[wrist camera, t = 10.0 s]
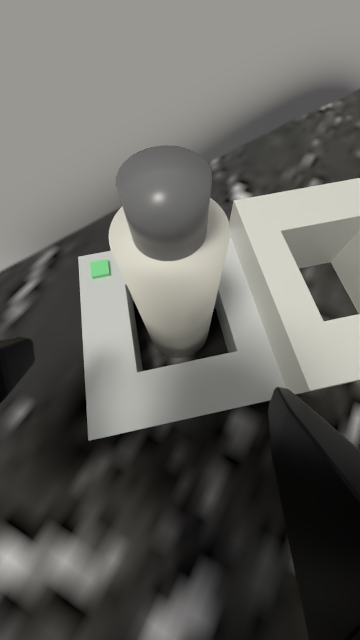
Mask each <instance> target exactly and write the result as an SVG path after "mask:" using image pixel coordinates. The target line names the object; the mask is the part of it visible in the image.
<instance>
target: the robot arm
mask: <svg viewBox="0 0 360 640" xmlns="http://www.w3.org/2000/svg"><path fill="white" fill-rule="evenodd" d="M34 361H35V352H34V344H33V341H32V340H31V339H30V338H25V337H16V338H11V339H6V340H1V341H0V403H1V402H2V401H3V400H4V399H5V398H6V397H7V396H8V394H9V393H10V392H11V391H12V390H13V388H14V387H15V386H16V385H17V383H18V382H19V381H20V380H21V379H22V377H23V376H24V375H25V374H26V372H27V371H28V370H29V369H30V367H31V366H32V365H33V363H34ZM268 416H269V428H270V440H271V451H272V459H273V464H274V469H275V474H276V479H277V484H278V489H279V494H280V499H281V504H282V509H283V514H284V519H285V524H286V529H287V534H288V539H289V544H290V549H291V554H292V559H293V564H294V569H295V574H296V579H297V584H298V589H299V594H300V599H301V604H302V609H303V614H304V619H305V624H306V629H307V634H308V639H309V640H360V450H359V449H358V448H356V447H355V446H354V445H353V444H352V443H351V442H349V441H348V440H347V439H346V438H345V437H344V436H342V435H341V434H340V433H339V432H338V431H337V430H336V429H334V428H333V427H332V426H331V425H330V424H329V423H327V422H326V421H325V420H324V419H323V418H322V417H321V416H319V415H318V414H317V413H316V412H315V411H314V410H312V409H311V408H310V407H309V406H308V405H307V404H306V403H304V402H303V401H302V400H301V399H300V398H299V397H297V396H296V395H295V394H294V393H293V392H292V391H290V390H289V389H287V388H282V387H276V388H275V389H274V392H273V395H272V398H271V401H270V404H269V408H268Z"/></svg>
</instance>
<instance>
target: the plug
mask: <svg viewBox="0 0 360 640" xmlns="http://www.w3.org/2000/svg"><path fill="white" fill-rule="evenodd" d="M211 182H212V172H211V169H210V167H209V165H208V163H207V162H206V160H204V158H203V157H201V156H200V155H199V154H197V153H195V152H194V151H191V150H189V149H186V148H183V147H178V146H156V147H151V148H147V149H144V150H142V151H139V152H137V153H136V154H134V155H132V156H131V157H129V158H128V159H127V160H126V161H125V162H124V163H123V164H122V166H121V167H120V169H119V171H118V173H117V176H116V186H117V190H118V193H119V197H120V199H121V203H122V207H121V208H120V209H119V211H118V212H117V213H116V215H115V216H114V218H113V220H112V223H111V226H110V229H109V244H110V248H111V251H112V253H113V256H114V258H115V260H116V262H117V264H118V267H119V269H120V271H121V273H122V275H123V278H124V280H125V282H126V284H127V287H128V289H129V291H130V293H131V295H132V298H133V300H134V302H135V304H136V306H137V309H138V311H139V313H140V315H141V318H142V320H143V322H144V324H145V326H146V329H147V331H148V333H149V335H150V337H151V340H152V342H153V344H154V345H155V347H156V348H157V349H158V350H159V351H160V352H161V353H163V354H164V355H166V356H169V357H172V358H186V357H189V356H192V355H194V354H195V353H197V352H198V351H199V350H200V349H201V348H202V347H203V345H204V344H205V342H206V340H207V336H208V332H209V328H210V323H211V319H212V314H213V310H214V306H215V301H216V297H217V292H218V288H219V284H220V279H221V275H222V270H223V266H224V262H225V257H226V253H227V248H228V244H229V239H230V226H229V222H228V219H227V216H226V214H225V213H224V211H223V210H222V208H221V207H220V206H219V205H218V204H217V203H216V202H215V201H214V200H212V199H211V198H210V193H211Z"/></svg>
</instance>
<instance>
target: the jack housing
mask: <svg viewBox="0 0 360 640" xmlns="http://www.w3.org/2000/svg"><path fill="white" fill-rule="evenodd" d="M229 226H230V239H229V244H228V248H227V253H226V257H225V262H224V266H223V270H222V275H221V279H220V284H219V288H218V292H217V297H216V301H215V309H216V312H217V316H218V319H219V323H220V326H221V329H222V333H223V336H224V340H225V343H226V347H227V350H228V353H226V354H222V355H217V356H212V357H208V358H203V359H198V360H193V361H189V362H184V363H179V364H175V365H170V366H165V367H160V368H156V369H151V370H146V371H143V368H142V361H141V354H140V347H139V340H138V334H137V327H136V320H135V313H134V306H133V301H134V300H133V298H132V295H131V293H130V291H129V289H128V287H127V284H126V282H125V280H124V278H123V275H122V273H121V271H120V269H119V267H118V264H117V262H116V260H115V258H114V256H113V253H112V251H107V252H102V253H97V254H91V255H86V256H80V257H78V260H79V278H80V297H81V315H82V334H83V352H84V371H85V389H86V408H87V426H88V441H89V440H94V439H99V438H104V437H109V436H113V435H118V434H122V433H127V432H131V431H136V430H140V429H145V428H149V427H154V426H158V425H162V424H167V423H171V422H176V421H180V420H185V419H189V418H194V417H198V416H203V415H207V414H212V413H216V412H220V411H225V410H229V409H234V408H238V407H243V406H247V405H252V404H256V403H261V402H265V401H270V400H271V398H272V395H273V392H274V389H275V388H276V387H282V388H287V389H289V390H290V391H292V392H293V393H294V394H295V395H296V394H301V393H305V392H310V391H314V390H319V389H323V388H328V387H332V386H337V385H341V384H345V383H350V382H354V381H359V380H360V178H357V179H352V180H346V181H341V182H335V183H329V184H324V185H318V186H313V187H307V188H302V189H296V190H290V191H285V192H279V193H274V194H268V195H263V196H257V197H252V198H246V199H240V200H235V201H234V203H233V207H232V212H231V217H230V222H229ZM330 262H331V264H332V266H333V268H334V269H335V271H336V273H337V275H338V277H339V279H340V281H341V282H342V284H343V286H344V288H345V290H346V292H347V294H348V295H349V297H350V299H351V301H352V303H353V305H354V307H355V308H356V310H357V312H358V315H353V316H349V317H344V318H339V319H334V320H329V321H325V322H324V321H323V319H322V317H321V315H320V313H319V311H318V309H317V307H316V304H315V302H314V300H313V298H312V296H311V294H310V292H309V290H308V287H307V285H306V283H305V281H304V279H303V277H302V275H301V273H300V271H299V269H300V268H305V267H310V266H315V265H320V264H325V263H330Z"/></svg>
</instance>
